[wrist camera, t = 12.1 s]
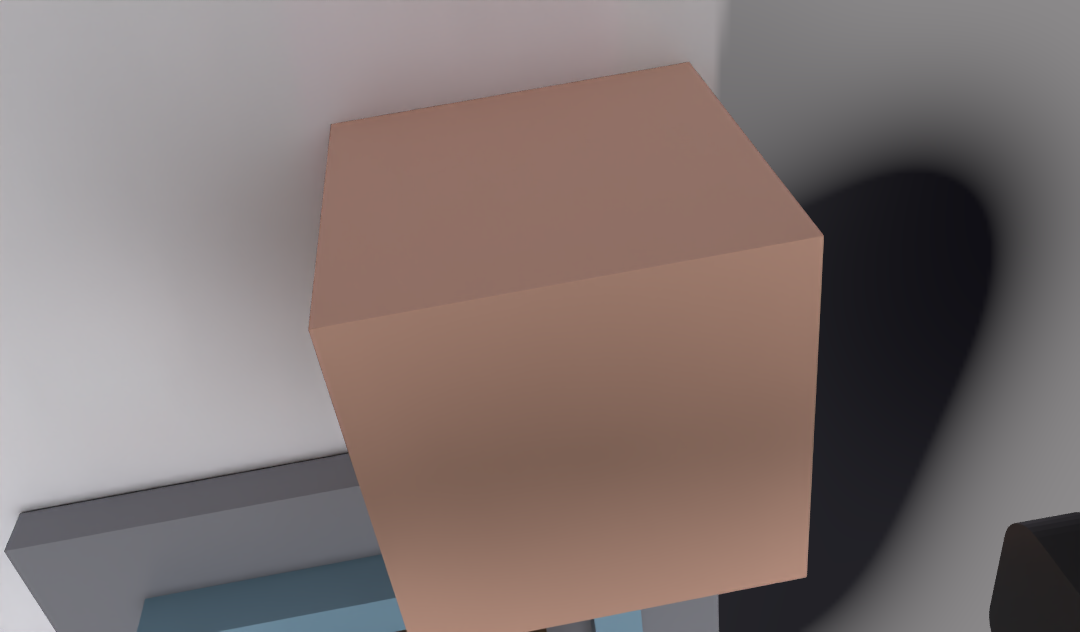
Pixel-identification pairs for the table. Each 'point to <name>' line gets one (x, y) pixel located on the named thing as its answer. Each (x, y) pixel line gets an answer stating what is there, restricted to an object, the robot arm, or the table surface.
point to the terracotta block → (570, 350)
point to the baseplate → (241, 560)
